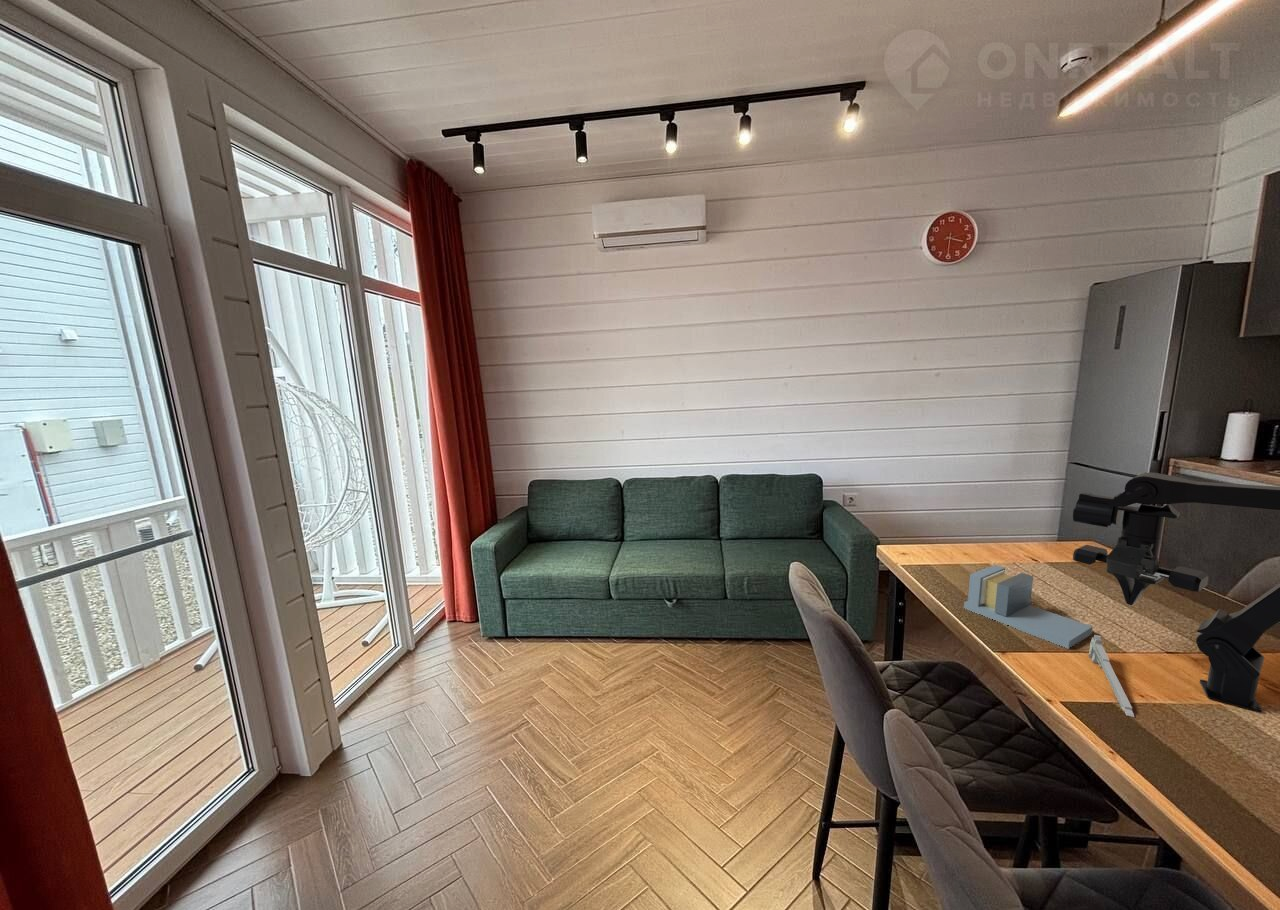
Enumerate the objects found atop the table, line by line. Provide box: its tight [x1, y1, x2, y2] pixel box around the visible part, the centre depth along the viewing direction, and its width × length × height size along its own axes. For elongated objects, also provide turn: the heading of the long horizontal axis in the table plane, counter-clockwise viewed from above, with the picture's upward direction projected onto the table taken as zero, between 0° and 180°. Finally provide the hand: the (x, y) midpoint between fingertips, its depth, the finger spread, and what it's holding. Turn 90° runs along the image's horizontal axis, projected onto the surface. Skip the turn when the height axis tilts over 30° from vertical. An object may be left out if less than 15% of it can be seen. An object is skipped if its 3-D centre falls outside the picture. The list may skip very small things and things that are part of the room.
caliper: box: [1088, 634, 1135, 718], centre depth 93 cm, size 20×1×6 cm, turn 151°
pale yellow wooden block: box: [984, 573, 1013, 609], centre depth 122 cm, size 3×8×7 cm, turn 118°
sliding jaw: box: [995, 572, 1034, 616], centre depth 120 cm, size 3×12×8 cm, turn 118°
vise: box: [963, 564, 1093, 650], centre depth 117 cm, size 22×12×10 cm, turn 28°
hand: (1130, 604), depth 99 cm, fingers closed
